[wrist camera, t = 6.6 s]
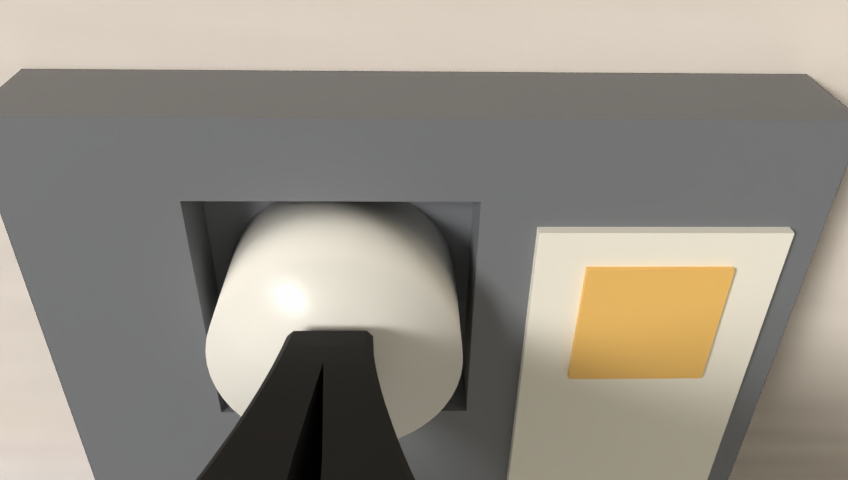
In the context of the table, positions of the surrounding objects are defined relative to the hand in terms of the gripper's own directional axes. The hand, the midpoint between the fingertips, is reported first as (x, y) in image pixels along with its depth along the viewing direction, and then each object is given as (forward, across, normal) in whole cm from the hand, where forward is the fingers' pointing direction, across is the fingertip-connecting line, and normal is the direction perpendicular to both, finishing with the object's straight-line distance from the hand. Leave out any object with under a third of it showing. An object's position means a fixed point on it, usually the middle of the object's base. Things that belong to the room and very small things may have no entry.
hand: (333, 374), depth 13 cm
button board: (+3, -2, +8) cm, 9 cm away
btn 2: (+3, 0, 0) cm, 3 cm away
